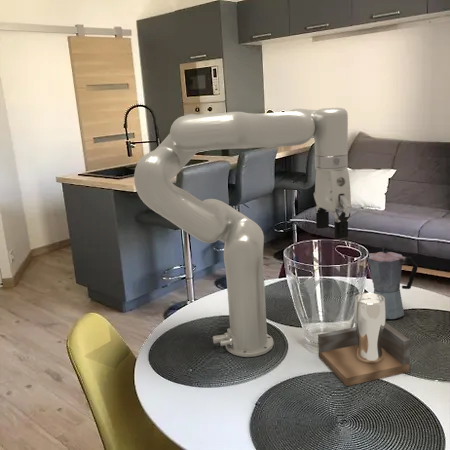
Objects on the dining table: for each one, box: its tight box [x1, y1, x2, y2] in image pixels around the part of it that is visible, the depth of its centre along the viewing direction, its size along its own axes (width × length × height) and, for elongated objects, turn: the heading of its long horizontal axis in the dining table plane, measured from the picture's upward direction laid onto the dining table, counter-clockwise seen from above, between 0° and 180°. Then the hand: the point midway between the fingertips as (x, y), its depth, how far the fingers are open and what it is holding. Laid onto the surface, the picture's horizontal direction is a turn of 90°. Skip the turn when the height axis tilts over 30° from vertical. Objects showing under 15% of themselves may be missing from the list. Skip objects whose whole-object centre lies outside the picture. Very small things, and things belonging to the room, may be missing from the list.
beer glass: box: [353, 292, 386, 363], centre depth 119 cm, size 7×7×15 cm
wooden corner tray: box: [317, 321, 411, 387], centre depth 121 cm, size 16×14×8 cm
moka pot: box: [367, 246, 418, 320], centre depth 144 cm, size 10×15×20 cm, turn 54°
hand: (331, 232), depth 123 cm, fingers open, 9 cm apart
